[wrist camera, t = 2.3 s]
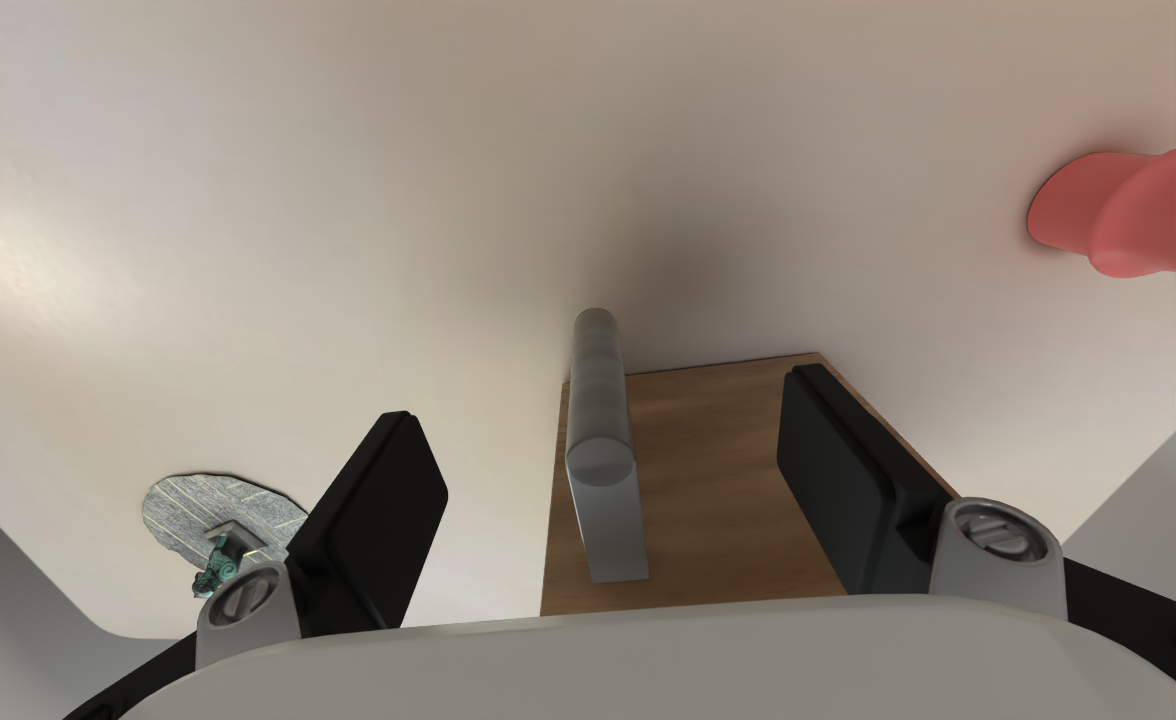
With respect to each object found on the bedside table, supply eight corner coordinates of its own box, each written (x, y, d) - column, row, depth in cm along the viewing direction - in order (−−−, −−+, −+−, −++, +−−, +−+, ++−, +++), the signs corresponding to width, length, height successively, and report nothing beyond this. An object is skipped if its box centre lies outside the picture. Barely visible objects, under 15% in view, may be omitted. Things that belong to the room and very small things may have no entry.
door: (541, 283, 21) (450, 604, 7) (836, 242, 20) (1399, 525, 6) (565, 398, 24) (534, 764, 10) (817, 368, 23) (1148, 730, 9)
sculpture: (304, 598, 35) (170, 664, 28) (266, 505, 38) (138, 545, 31) (346, 525, 29) (191, 587, 22) (297, 423, 32) (149, 451, 26)
